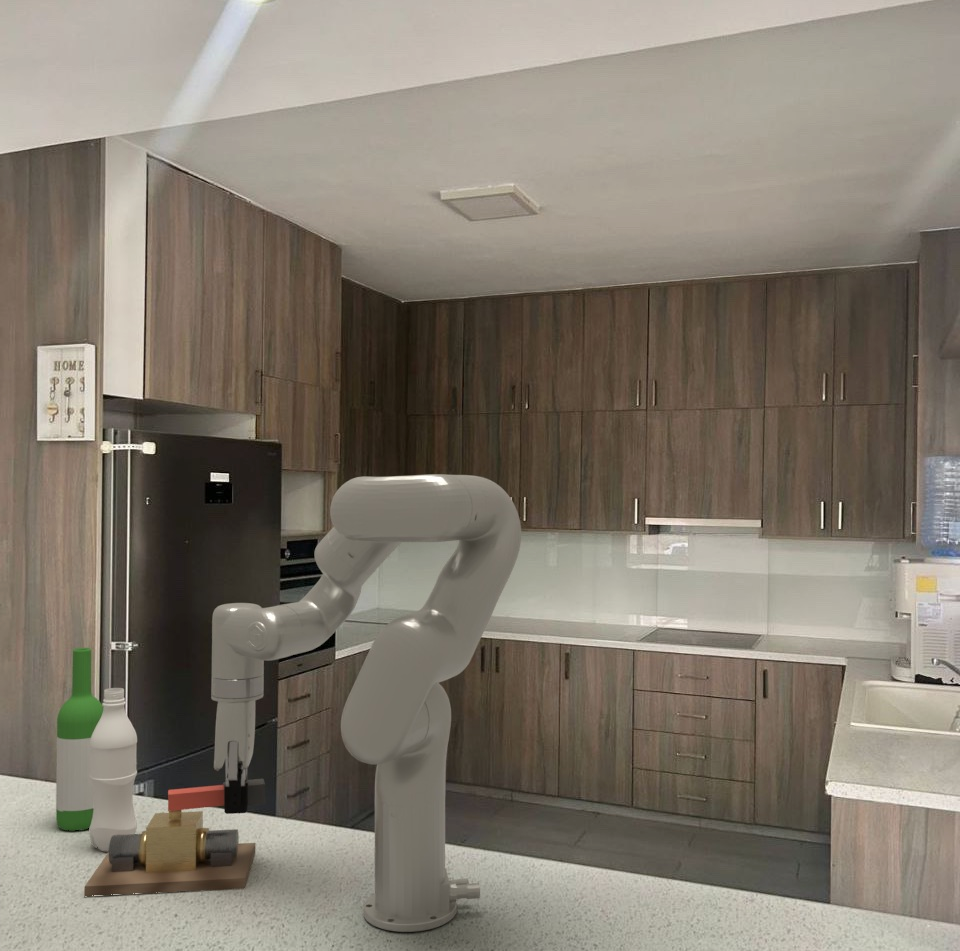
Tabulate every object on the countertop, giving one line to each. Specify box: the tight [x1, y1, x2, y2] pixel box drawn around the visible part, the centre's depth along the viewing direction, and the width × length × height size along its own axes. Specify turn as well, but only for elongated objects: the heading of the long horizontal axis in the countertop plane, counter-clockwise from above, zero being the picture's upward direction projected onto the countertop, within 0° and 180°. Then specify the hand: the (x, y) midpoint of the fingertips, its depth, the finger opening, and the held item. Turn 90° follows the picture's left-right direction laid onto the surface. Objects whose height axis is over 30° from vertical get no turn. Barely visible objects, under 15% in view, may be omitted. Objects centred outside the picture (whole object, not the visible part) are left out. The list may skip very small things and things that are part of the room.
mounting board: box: [84, 842, 256, 898], centre depth 142 cm, size 22×14×2 cm, turn 97°
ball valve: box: [108, 810, 240, 873], centre depth 142 cm, size 18×6×6 cm, turn 97°
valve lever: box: [167, 778, 266, 819], centre depth 144 cm, size 3×14×4 cm, turn 108°
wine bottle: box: [55, 647, 104, 832], centre depth 163 cm, size 8×8×30 cm
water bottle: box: [88, 687, 138, 852], centre depth 154 cm, size 7×7×25 cm
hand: (236, 811), depth 141 cm, fingers closed
